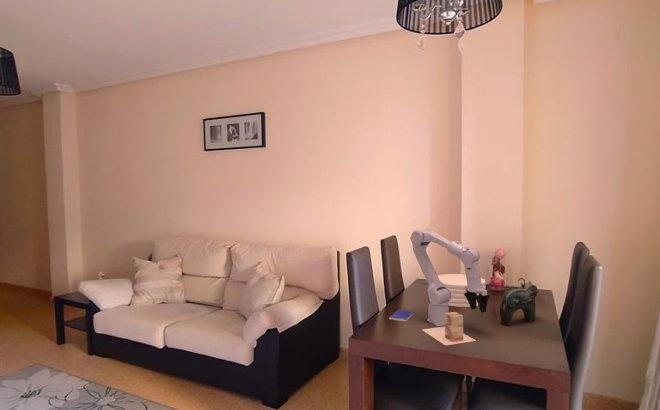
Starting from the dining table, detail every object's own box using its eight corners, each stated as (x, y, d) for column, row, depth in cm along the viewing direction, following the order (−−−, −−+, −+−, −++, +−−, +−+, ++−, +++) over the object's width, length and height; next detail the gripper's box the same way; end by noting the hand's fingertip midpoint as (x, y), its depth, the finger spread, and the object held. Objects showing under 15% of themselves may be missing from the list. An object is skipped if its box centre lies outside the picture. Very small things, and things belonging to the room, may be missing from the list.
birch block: (445, 337, 154) (444, 313, 154) (455, 335, 155) (455, 311, 155) (452, 341, 149) (452, 316, 149) (463, 340, 151) (463, 315, 150)
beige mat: (421, 331, 163) (421, 329, 163) (449, 327, 167) (449, 325, 167) (445, 346, 146) (445, 345, 146) (476, 342, 150) (476, 340, 150)
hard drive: (405, 319, 176) (413, 311, 187) (389, 316, 180) (397, 309, 191) (405, 322, 176) (413, 315, 187) (389, 320, 180) (397, 312, 191)
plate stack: (494, 306, 196) (494, 284, 195) (440, 307, 196) (439, 285, 196) (474, 292, 224) (474, 273, 223) (427, 293, 224) (427, 274, 224)
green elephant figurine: (529, 317, 178) (529, 275, 177) (541, 321, 172) (541, 278, 171) (497, 323, 171) (496, 279, 170) (508, 328, 165) (508, 282, 164)
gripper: (491, 278, 153) (497, 312, 151) (473, 275, 167) (478, 306, 166) (475, 280, 152) (481, 314, 150) (458, 277, 166) (463, 308, 165)
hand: (478, 310), depth 158 cm, fingers open, 7 cm apart
